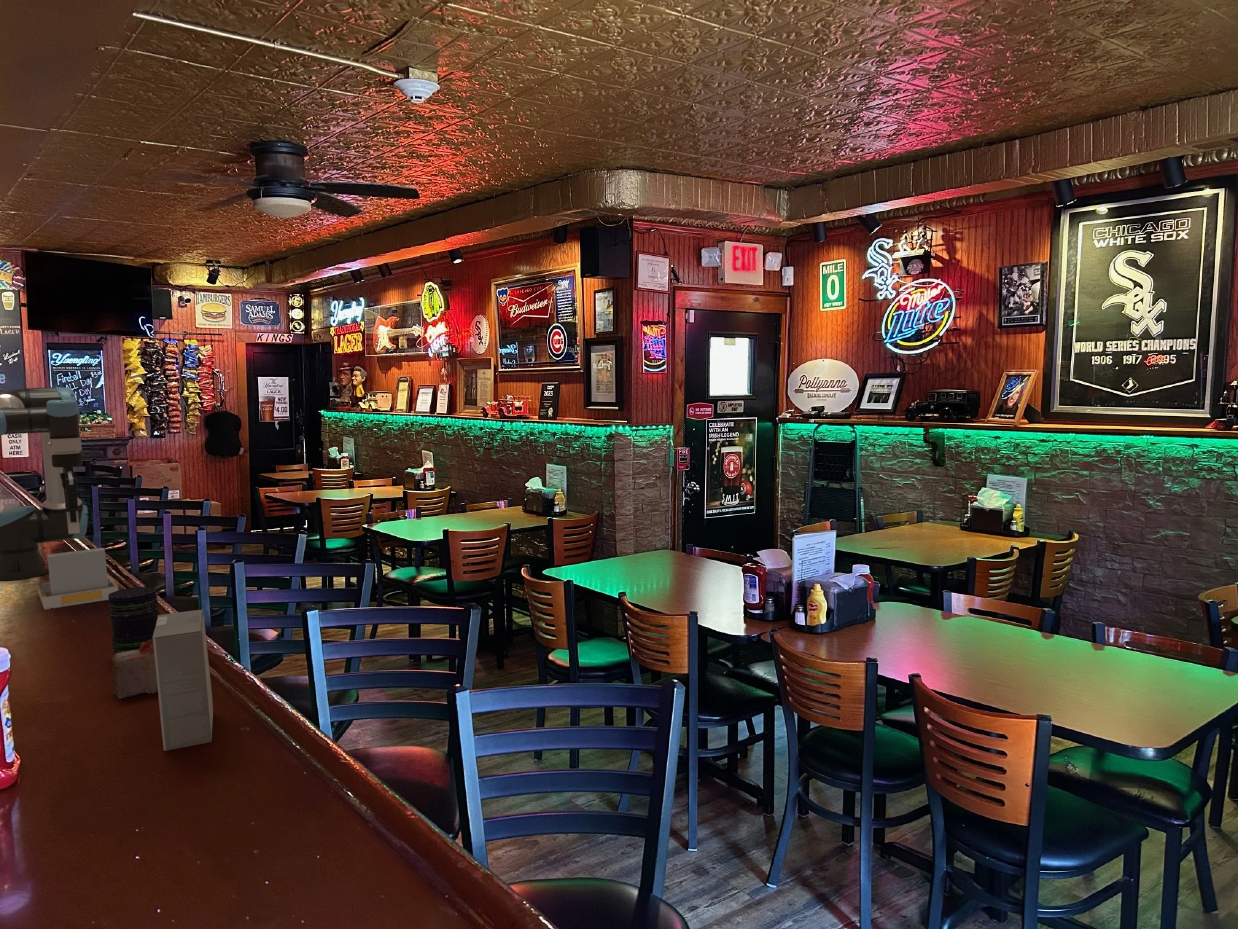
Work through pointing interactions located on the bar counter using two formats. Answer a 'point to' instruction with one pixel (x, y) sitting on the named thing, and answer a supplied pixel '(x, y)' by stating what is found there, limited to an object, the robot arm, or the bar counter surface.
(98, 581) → the blanking panel
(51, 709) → the bar counter surface
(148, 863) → the bar counter surface
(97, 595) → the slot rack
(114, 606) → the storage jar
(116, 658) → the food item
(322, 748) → the bar counter surface
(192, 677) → the hard drive box
